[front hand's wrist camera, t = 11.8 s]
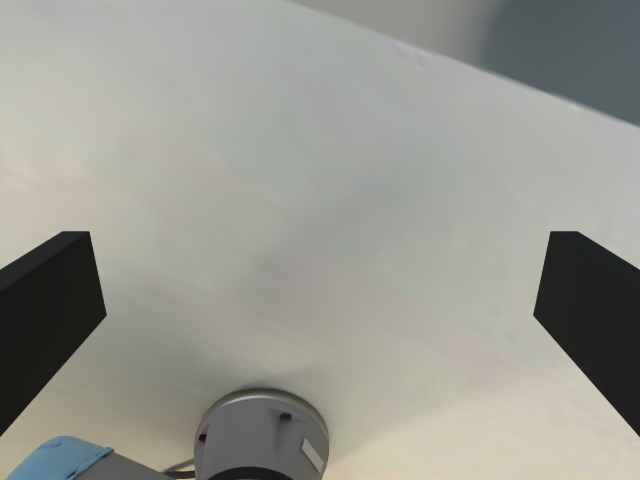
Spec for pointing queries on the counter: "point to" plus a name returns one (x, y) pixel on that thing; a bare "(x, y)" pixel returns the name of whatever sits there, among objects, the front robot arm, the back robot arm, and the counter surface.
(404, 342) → the counter surface
